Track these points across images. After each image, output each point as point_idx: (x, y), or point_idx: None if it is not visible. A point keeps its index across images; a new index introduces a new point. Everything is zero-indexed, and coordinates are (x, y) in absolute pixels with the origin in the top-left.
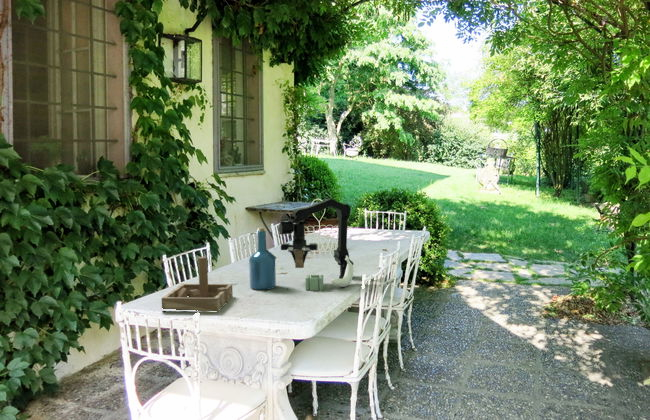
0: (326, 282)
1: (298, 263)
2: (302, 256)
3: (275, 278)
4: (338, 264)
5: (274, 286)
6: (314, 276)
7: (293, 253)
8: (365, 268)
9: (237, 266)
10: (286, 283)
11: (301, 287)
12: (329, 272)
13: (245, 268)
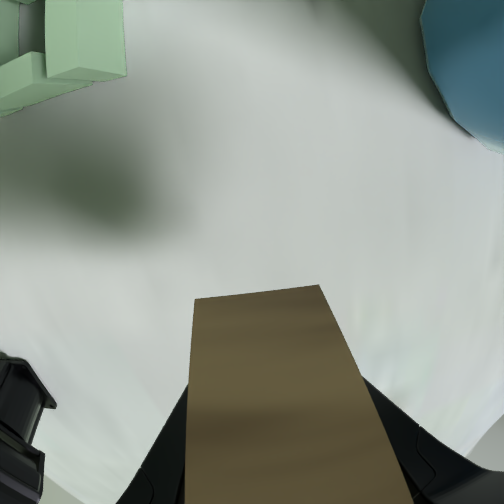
0: (36, 263)
1: (280, 340)
2: (195, 477)
3: (462, 11)
4: (40, 453)
5: (423, 8)
6: (4, 67)
7: (445, 492)
8: (58, 473)
9: (492, 417)
10: (356, 181)
11: (180, 34)
12: (145, 454)
13: (483, 411)
